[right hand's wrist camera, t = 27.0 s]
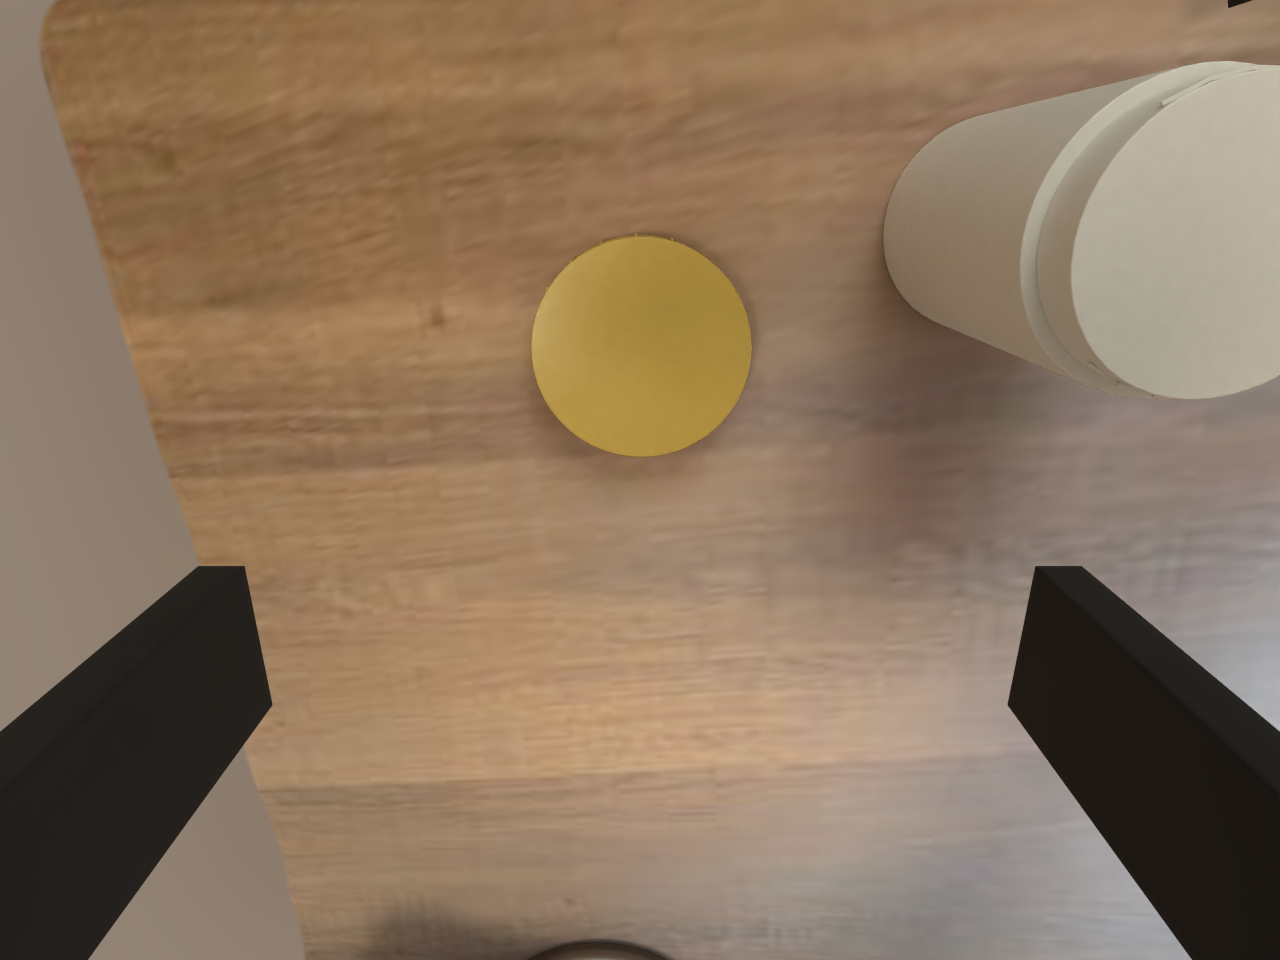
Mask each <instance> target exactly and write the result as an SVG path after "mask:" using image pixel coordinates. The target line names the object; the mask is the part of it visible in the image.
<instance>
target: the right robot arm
mask: <svg viewBox="0 0 1280 960" xmlns="http://www.w3.org/2000/svg"><path fill="white" fill-rule="evenodd" d="M271 706H272V700H271V695H270V690H269V685H268V680H267V675H266V670H265V666H264V661H263V656H262V651H261V646H260V641H259V636H258V631H257V626H256V621H255V616H254V611H253V606H252V601H251V596H250V591H249V586H248V581H247V576H246V571H245V566H198V567H197V568H196V569H194V570H193V571H192V572H191V573H190V574H189V575H187V576H186V577H185V578H184V579H182V580H181V581H180V582H179V583H178V584H176V585H175V586H174V587H173V588H172V589H171V590H169V591H168V592H167V593H166V594H165V595H163V596H162V597H161V598H160V599H159V600H157V601H156V602H155V603H154V604H153V605H151V606H150V607H149V608H148V609H147V610H145V611H144V612H143V613H142V614H141V615H139V616H138V617H137V618H136V619H135V620H133V621H132V622H131V623H130V624H129V625H127V626H126V627H125V628H124V629H123V630H121V631H120V632H119V633H118V634H117V635H115V636H114V637H113V638H112V639H111V640H109V641H108V642H107V643H106V644H105V645H103V646H102V647H101V648H100V649H99V650H97V651H96V652H95V653H94V654H93V655H92V656H90V657H89V658H88V659H87V660H86V661H84V662H83V663H82V664H81V665H80V666H78V667H77V668H76V669H75V670H74V671H72V672H71V673H70V674H69V675H68V676H66V677H65V678H64V679H63V680H62V681H60V682H59V683H58V684H57V685H56V686H54V687H53V688H52V689H51V690H50V691H48V692H47V693H46V694H45V695H44V696H42V697H41V698H40V699H39V700H38V701H36V702H35V703H34V704H33V705H32V706H30V707H29V708H28V709H27V710H26V711H24V712H23V713H22V714H21V715H20V716H18V717H17V718H16V719H15V720H14V721H12V722H11V723H10V724H9V725H8V726H6V727H5V728H4V729H3V730H2V731H1V732H0V960H88V959H89V957H90V956H91V955H92V953H93V952H94V951H95V949H96V948H97V946H98V945H99V944H100V942H101V941H102V940H103V938H104V937H105V935H106V934H107V933H108V931H109V930H110V928H111V927H112V926H113V924H114V923H115V922H116V920H117V919H118V917H119V916H120V915H121V913H122V912H123V911H124V909H125V908H126V906H127V905H128V904H129V902H130V901H131V900H132V898H133V897H134V895H135V894H136V893H137V891H138V890H139V888H140V887H141V886H142V884H143V883H144V882H145V880H146V879H147V877H148V876H149V875H150V873H151V872H152V871H153V869H154V868H155V866H156V865H157V863H158V862H159V861H160V859H161V858H162V857H163V855H164V854H165V852H166V851H167V850H168V848H169V847H170V846H171V844H172V843H173V842H174V840H175V839H176V837H177V836H178V835H179V833H180V832H181V830H182V829H183V828H184V826H185V825H186V823H187V822H188V821H189V819H190V818H191V817H192V815H193V814H194V813H195V811H196V810H197V808H198V807H199V806H200V804H201V803H202V801H203V800H204V799H205V797H206V796H207V795H208V793H209V792H210V790H211V789H212V788H213V786H214V785H215V784H216V782H217V781H218V779H219V778H220V777H221V775H222V774H223V772H224V771H225V770H226V768H227V767H228V765H229V764H230V763H231V761H232V760H233V759H234V757H235V756H236V754H237V753H238V752H239V750H240V749H241V748H242V746H243V745H244V743H245V742H246V741H247V739H248V738H249V737H250V735H251V734H252V732H253V731H254V730H255V728H256V727H257V726H258V724H259V723H260V721H261V720H262V719H263V717H264V716H265V714H266V713H267V712H268V710H269V709H270V708H271ZM1008 706H1009V708H1010V709H1011V710H1012V712H1013V713H1014V714H1015V716H1016V717H1017V719H1018V720H1019V721H1020V723H1021V724H1022V726H1023V727H1024V728H1025V730H1026V731H1027V732H1028V734H1029V735H1030V737H1031V738H1032V739H1033V741H1034V742H1035V743H1036V745H1037V746H1038V748H1039V749H1040V750H1041V752H1042V753H1043V755H1044V756H1045V757H1046V759H1047V760H1048V761H1049V763H1050V764H1051V766H1052V767H1053V768H1054V770H1055V771H1056V772H1057V774H1058V775H1059V777H1060V778H1061V779H1062V781H1063V782H1064V784H1065V785H1066V786H1067V788H1068V789H1069V790H1070V792H1071V793H1072V795H1073V796H1074V797H1075V799H1076V800H1077V801H1078V803H1079V804H1080V806H1081V807H1082V808H1083V810H1084V811H1085V813H1086V814H1087V815H1088V817H1089V818H1090V819H1091V821H1092V822H1093V824H1094V825H1095V826H1096V828H1097V829H1098V830H1099V832H1100V833H1101V835H1102V836H1103V837H1104V839H1105V840H1106V842H1107V843H1108V844H1109V846H1110V847H1111V848H1112V850H1113V851H1114V853H1115V854H1116V855H1117V857H1118V858H1119V859H1120V861H1121V862H1122V864H1123V865H1124V866H1125V868H1126V869H1127V871H1128V872H1129V873H1130V875H1131V876H1132V877H1133V879H1134V880H1135V882H1136V883H1137V884H1138V886H1139V887H1140V888H1141V890H1142V891H1143V893H1144V894H1145V895H1146V897H1147V898H1148V900H1149V901H1150V902H1151V904H1152V905H1153V906H1154V908H1155V909H1156V911H1157V912H1158V913H1159V915H1160V916H1161V917H1162V919H1163V920H1164V922H1165V923H1166V924H1167V926H1168V927H1169V929H1170V930H1171V931H1172V933H1173V934H1174V935H1175V937H1176V938H1177V940H1178V941H1179V942H1180V944H1181V945H1182V946H1183V948H1184V949H1185V951H1186V952H1187V953H1188V955H1189V956H1190V957H1191V959H1192V960H1280V731H1278V730H1277V729H1276V728H1275V727H1274V726H1272V725H1271V724H1270V723H1269V722H1268V721H1266V720H1265V719H1264V718H1263V717H1262V716H1260V715H1259V714H1258V713H1257V712H1256V711H1254V710H1253V709H1252V708H1251V707H1250V706H1248V705H1247V704H1246V703H1245V702H1244V701H1242V700H1241V699H1240V698H1239V697H1238V696H1236V695H1235V694H1234V693H1233V692H1232V691H1230V690H1229V689H1228V688H1227V687H1226V686H1224V685H1223V684H1222V683H1221V682H1220V681H1218V680H1217V679H1216V678H1215V677H1214V676H1212V675H1211V674H1210V673H1209V672H1208V671H1206V670H1205V669H1204V668H1203V667H1202V666H1201V665H1199V664H1198V663H1197V662H1196V661H1195V660H1193V659H1192V658H1191V657H1190V656H1189V655H1187V654H1186V653H1185V652H1184V651H1183V650H1181V649H1180V648H1179V647H1178V646H1177V645H1175V644H1174V643H1173V642H1172V641H1171V640H1169V639H1168V638H1167V637H1166V636H1165V635H1163V634H1162V633H1161V632H1160V631H1159V630H1157V629H1156V628H1155V627H1154V626H1153V625H1151V624H1150V623H1149V622H1148V621H1147V620H1145V619H1144V618H1143V617H1142V616H1141V615H1139V614H1138V613H1137V612H1136V611H1135V610H1133V609H1132V608H1131V607H1130V606H1129V605H1127V604H1126V603H1125V602H1124V601H1123V600H1121V599H1120V598H1119V597H1118V596H1117V595H1115V594H1114V593H1113V592H1112V591H1111V590H1110V589H1108V588H1107V587H1106V586H1105V585H1104V584H1102V583H1101V582H1100V581H1099V580H1098V579H1096V578H1095V577H1094V576H1093V575H1092V574H1090V573H1089V572H1088V571H1087V570H1086V569H1084V568H1083V567H1082V566H1035V571H1034V576H1033V581H1032V586H1031V591H1030V596H1029V601H1028V606H1027V611H1026V616H1025V621H1024V626H1023V631H1022V636H1021V641H1020V646H1019V651H1018V656H1017V661H1016V666H1015V670H1014V675H1013V680H1012V685H1011V690H1010V695H1009V700H1008ZM530 960H666V959H664V958H662V957H660V956H658V955H655V954H653V953H651V952H648V951H645V950H642V949H639V948H635V947H631V946H626V945H620V944H612V943H583V944H574V945H569V946H564V947H560V948H556V949H553V950H550V951H547V952H544V953H542V954H540V955H537V956H535V957H533V958H532V959H530Z"/></svg>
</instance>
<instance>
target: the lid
mask: <svg viewBox="0 0 1280 960" xmlns="http://www.w3.org/2000/svg"><path fill="white" fill-rule="evenodd" d="M705 256H706V255H705V254H704V253H703V252H701V253H699V252H698V251H696V250H695V249H693V248H691V247H689V246H687V245H685V244H683V243H681V242H678V241H675V240H673V238H672V237H670V238H665V237H660V236H653V235H637V233H635V235H630V236H622V237H618V238H614V239H610V240H607V241H605V242H604V241H603V240H602V241H601V242H600V244H597V245H595V246H593V247H592V248H590V249H588V250H586V251H585V252H583V253H582V254H580V255H579V256H578V257H577V258H575V259H574V258H572V259H571V260H570V261H569V264H568V265H567V266H566V267H565V268H564V269H563V270H562V271H561V272H560V273H559V274H558V275H557V277H556V278H555V279H554V281H553V282H552V283H551V284H550V285H549V286H548V287H547V288H546V290H547V291H546V293H545V295H544V297H543V298H542V300H541V303H540V305H539V308H538V310H537V313H536V316H535V319H534V320H533V322H534V325H533V329H532V339H531V358H532V364H533V370H534V374H535V377H536V381H537V384H538V387H539V389H540V391H541V393H542V396H543V398H544V400H545V401H546V403H547V404H548V406H549V408H550V409H551V411H552V412H553V413H554V414H555V416H556V417H557V418H558V419H559V421H560V422H561V423H562V424H563V425H564V426H565V427H566V428H567V429H569V430H570V431H571V432H572V433H574V434H575V435H576V436H578V437H579V438H580V439H582V440H584V441H585V442H587V443H589V444H591V445H592V446H595V447H597V448H600V449H602V450H604V451H607V452H611V453H615V454H618V455H625V456H632V457H649V456H658V455H663V454H668V453H672V452H675V451H678V450H681V449H683V448H686V447H688V446H690V445H692V444H694V443H696V442H698V441H699V440H701V439H702V438H703V437H705V436H706V435H708V434H709V433H711V432H712V431H713V430H714V429H715V428H716V427H717V426H718V425H719V424H720V423H721V422H722V421H723V420H724V419H725V418H726V417H727V415H728V414H729V413H730V411H731V410H732V408H733V407H734V405H735V404H736V402H737V401H738V399H739V397H740V395H741V393H742V391H743V388H744V385H745V382H746V380H747V377H748V372H749V367H750V363H751V350H752V344H751V331H750V326H749V321H748V317H747V314H746V312H747V310H746V309H745V308H744V305H743V303H742V301H741V299H740V297H739V295H738V293H737V291H736V290H735V288H734V287H733V285H732V284H731V282H730V281H731V279H730V278H729V277H728V276H725V275H724V274H723V273H722V272H721V270H720V269H719V268H718V267H717V266H716V265H714V264H713V263H712V262H711V261H710V260H709V259H707V258H706V257H705Z"/></svg>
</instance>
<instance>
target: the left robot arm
mask: <svg viewBox="0 0 1280 960" xmlns="http://www.w3.org/2000/svg"><path fill="white" fill-rule="evenodd" d="M1248 1H1252V0H1228V8H1230V7H1233V6H1236V5H1239V4H1242V3H1245V2H1248Z"/></svg>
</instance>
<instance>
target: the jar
mask: <svg viewBox="0 0 1280 960" xmlns="http://www.w3.org/2000/svg"><path fill="white" fill-rule="evenodd" d="M883 245H884V254H885V259H886V265H887V267H888V270H889V273H890V276H891V278H892V280H893V282H894V284H895V286H896V288H897V290H898V291H899V292H900V294H901V295H902V297H903V298H904V299H905V300H906V301H907V302H908V303H909V304H910V306H911V307H912V308H914V309H915V310H916V311H918V312H919V313H920V314H921V315H923V316H925V317H927V318H928V319H930V320H932V321H934V322H937V323H939V324H941V325H944V326H946V327H948V328H951V329H953V330H955V331H958V332H960V333H963V334H965V335H967V336H970V337H972V338H974V339H977V340H979V341H982V342H984V343H986V344H989V345H991V346H993V347H996V348H998V349H1001V350H1003V351H1005V352H1008V353H1010V354H1012V355H1015V356H1017V357H1019V358H1022V359H1024V360H1027V361H1029V362H1031V363H1034V364H1036V365H1038V366H1041V367H1043V368H1046V369H1048V370H1050V371H1053V372H1055V373H1057V374H1060V375H1062V376H1064V377H1067V378H1069V379H1072V380H1074V381H1076V382H1079V383H1081V384H1083V385H1086V386H1088V387H1091V388H1093V389H1096V390H1099V391H1101V392H1104V393H1108V394H1112V395H1117V396H1121V397H1131V398H1162V397H1164V398H1174V399H1186V400H1191V399H1209V398H1215V397H1221V396H1227V395H1231V394H1234V393H1238V392H1241V391H1245V390H1248V389H1251V388H1253V387H1256V386H1258V385H1261V384H1263V383H1266V382H1268V381H1270V380H1272V379H1274V378H1275V377H1277V376H1279V375H1280V65H1257V64H1252V63H1244V62H1234V61H1217V62H1203V63H1198V64H1193V65H1187V66H1182V67H1178V68H1174V69H1170V70H1166V71H1161V72H1157V73H1153V74H1149V75H1145V76H1141V77H1137V78H1132V79H1128V80H1124V81H1120V82H1116V83H1112V84H1108V85H1103V86H1099V87H1095V88H1091V89H1087V90H1083V91H1079V92H1074V93H1070V94H1066V95H1062V96H1058V97H1054V98H1050V99H1045V100H1041V101H1037V102H1033V103H1029V104H1025V105H1021V106H1016V107H1012V108H1008V109H1004V110H1000V111H996V112H992V113H987V114H983V115H979V116H976V117H973V118H970V119H967V120H964V121H961V122H959V123H957V124H955V125H953V126H951V127H949V128H947V129H946V130H944V131H943V132H941V133H940V134H938V135H937V136H935V137H934V138H933V139H932V140H931V141H929V142H928V143H927V144H926V145H925V146H924V147H923V148H922V149H921V150H920V151H919V152H918V153H917V154H916V155H915V156H914V157H913V159H912V160H911V161H910V163H909V164H908V165H907V166H906V168H905V169H904V171H903V173H902V174H901V176H900V178H899V179H898V181H897V183H896V185H895V188H894V190H893V192H892V194H891V197H890V200H889V203H888V207H887V210H886V215H885V221H884V231H883Z"/></svg>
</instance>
